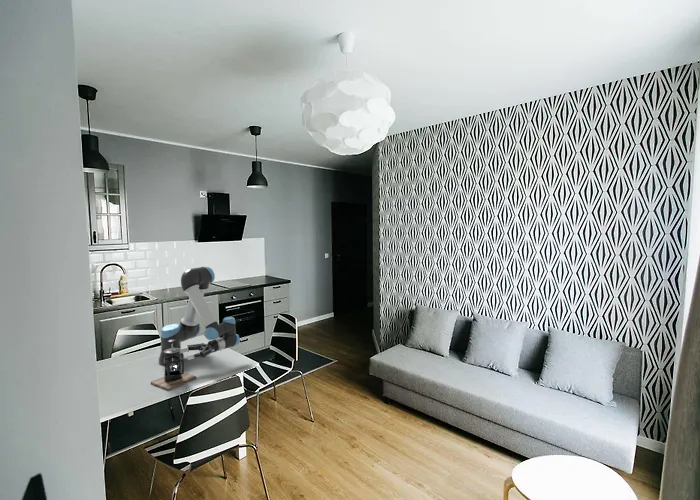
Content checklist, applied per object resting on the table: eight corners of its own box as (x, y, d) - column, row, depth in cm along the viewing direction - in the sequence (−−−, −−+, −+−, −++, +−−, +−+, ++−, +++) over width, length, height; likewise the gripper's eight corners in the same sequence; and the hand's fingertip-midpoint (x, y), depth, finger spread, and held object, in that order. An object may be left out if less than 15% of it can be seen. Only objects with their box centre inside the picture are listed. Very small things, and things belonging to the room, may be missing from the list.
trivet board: (150, 383, 207) (150, 381, 207) (179, 372, 222) (179, 370, 222) (168, 390, 199) (167, 388, 199) (196, 378, 214) (196, 376, 214)
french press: (159, 381, 206) (158, 342, 204) (169, 374, 216) (167, 337, 214) (179, 382, 206) (178, 343, 204) (187, 375, 215) (186, 337, 213)
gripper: (226, 355, 221) (192, 366, 205) (206, 346, 238) (173, 355, 221) (226, 344, 221) (192, 353, 205) (206, 335, 237) (173, 343, 221)
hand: (182, 354), depth 213 cm, fingers open, 13 cm apart
